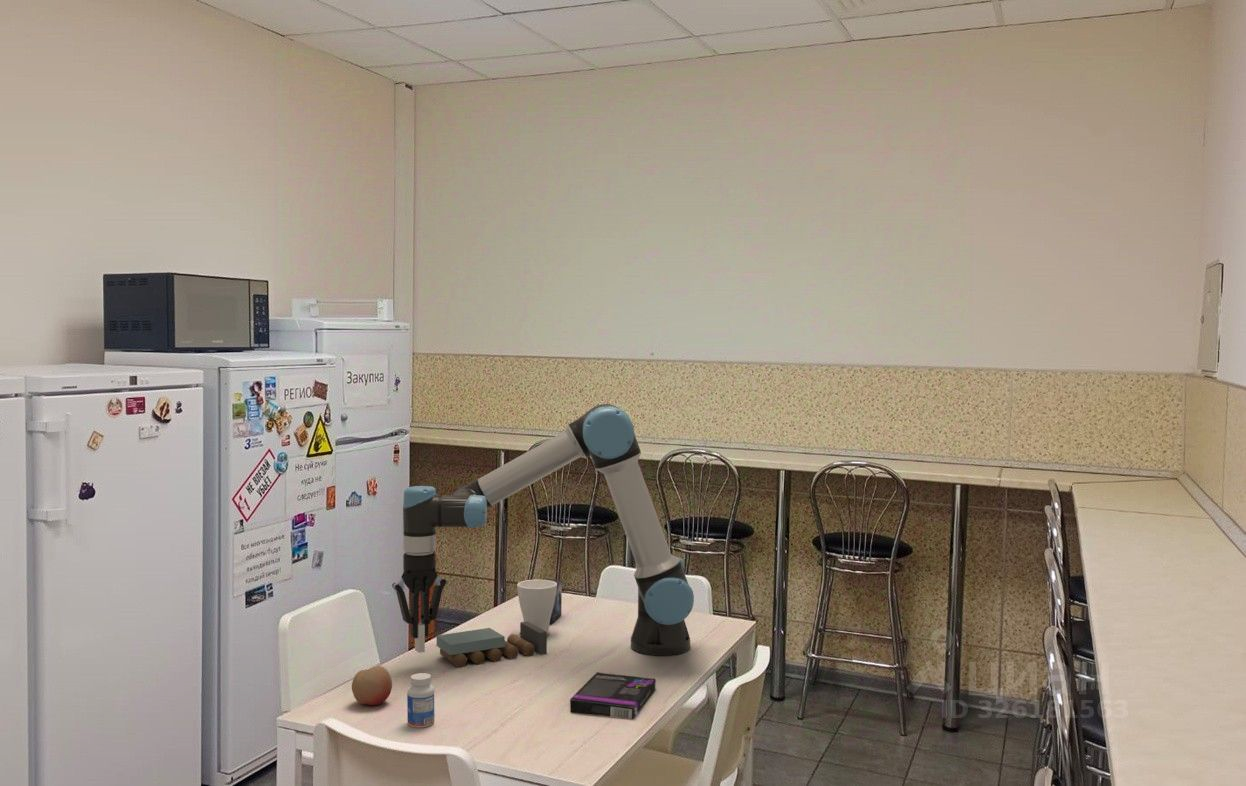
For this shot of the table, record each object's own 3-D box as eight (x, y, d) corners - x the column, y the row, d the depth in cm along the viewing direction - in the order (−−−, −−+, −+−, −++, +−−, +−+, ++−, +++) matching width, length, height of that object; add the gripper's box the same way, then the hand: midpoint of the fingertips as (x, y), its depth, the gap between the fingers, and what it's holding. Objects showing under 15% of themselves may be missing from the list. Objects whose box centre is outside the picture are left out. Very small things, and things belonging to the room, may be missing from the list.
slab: (504, 646, 252) (504, 636, 252) (450, 655, 244) (450, 644, 244) (489, 637, 259) (489, 627, 259) (436, 645, 252) (436, 635, 252)
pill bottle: (409, 718, 211) (409, 671, 211) (435, 718, 212) (435, 671, 211) (405, 728, 206) (405, 680, 206) (433, 728, 206) (433, 680, 206)
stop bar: (546, 653, 257) (546, 631, 256) (539, 654, 256) (539, 632, 255) (527, 642, 266) (527, 621, 266) (520, 643, 265) (520, 622, 265)
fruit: (371, 695, 226) (371, 659, 225) (399, 702, 221) (399, 665, 221) (344, 706, 219) (344, 668, 218) (372, 713, 215) (372, 675, 214)
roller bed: (535, 654, 256) (535, 642, 255) (455, 668, 245) (455, 655, 245) (517, 644, 264) (517, 633, 264) (439, 657, 253) (439, 644, 253)
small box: (552, 625, 283) (553, 587, 282) (529, 624, 284) (530, 586, 284) (562, 615, 293) (563, 579, 293) (540, 614, 294) (540, 577, 294)
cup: (509, 637, 271) (510, 586, 270) (528, 627, 280) (528, 577, 280) (545, 641, 267) (546, 590, 266) (563, 631, 277) (563, 581, 276)
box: (633, 724, 212) (656, 691, 231) (633, 707, 212) (657, 676, 231) (568, 715, 216) (597, 684, 235) (569, 699, 216) (597, 669, 235)
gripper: (439, 546, 251) (439, 642, 252) (387, 552, 244) (387, 650, 245) (451, 552, 244) (451, 650, 245) (398, 557, 238) (398, 659, 239)
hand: (419, 650), depth 245 cm, fingers closed
